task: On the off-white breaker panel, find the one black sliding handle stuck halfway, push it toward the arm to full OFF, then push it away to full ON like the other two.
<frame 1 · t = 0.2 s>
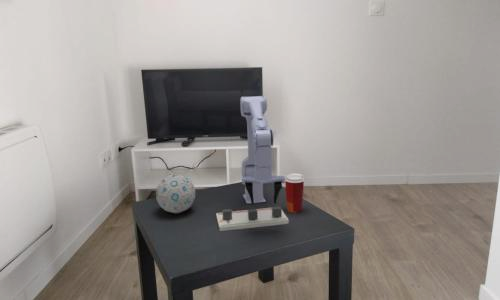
hand: (263, 202, 129), 10 cm above the table, tool pointing down, fingers open, 7 cm apart
puzzle ball: (177, 211, 149), on the table
breaker 3: (276, 211, 138), point 3 cm above the table, slide at 2.3 cm
breaker 1: (227, 214, 137), point 3 cm above the table, slide at 0.0 cm
breaker 2: (252, 214, 136), point 3 cm above the table, slide at 2.3 cm
paper cup: (294, 210, 147), on the table
breaker panel: (251, 220, 139), on the table
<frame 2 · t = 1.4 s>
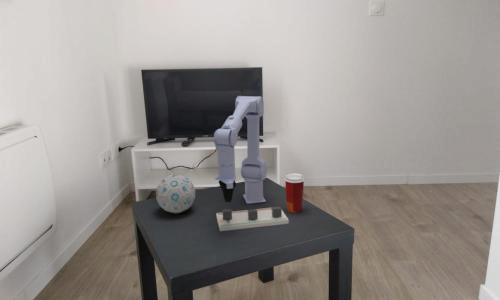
hand: (228, 201, 131), 10 cm above the table, tool pointing down, fingers closed
nothing on the table moved.
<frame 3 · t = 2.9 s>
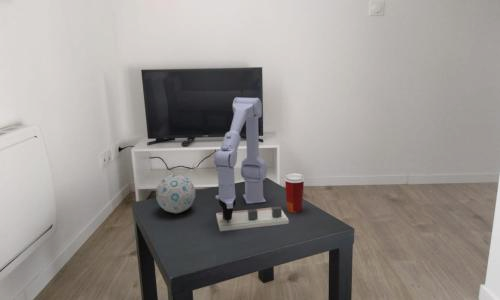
hand: (228, 219, 135), 2 cm above the table, tool pointing down, fingers closed
breaker 1: (227, 213, 137), point 3 cm above the table, slide at -0.4 cm, touching gripper
everything else where it was.
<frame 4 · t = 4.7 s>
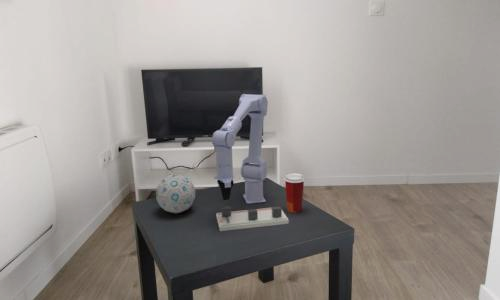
hand: (226, 199, 137), 9 cm above the table, tool pointing down, fingers closed
breaker 1: (226, 211, 139), point 3 cm above the table, slide at -2.6 cm
everything else where it was.
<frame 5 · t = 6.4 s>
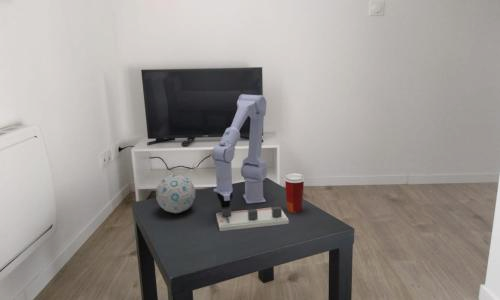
hand: (225, 211, 142), 2 cm above the table, tool pointing down, fingers closed
breaker 1: (226, 211, 139), point 3 cm above the table, slide at -2.4 cm, touching gripper
everything else where it was.
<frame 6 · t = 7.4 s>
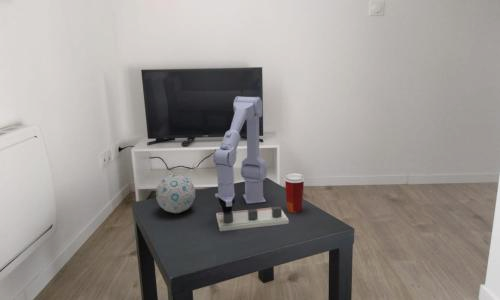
hand: (227, 217, 137), 2 cm above the table, tool pointing down, fingers closed
breaker 1: (228, 217, 134), point 3 cm above the table, slide at 2.6 cm, touching gripper
everything else where it was.
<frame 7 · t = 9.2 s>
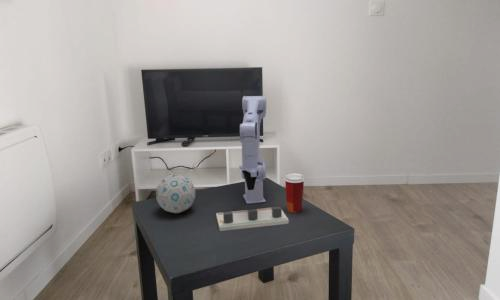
hand: (250, 189, 141), 10 cm above the table, tool pointing down, fingers closed
breaker 1: (228, 217, 135), point 3 cm above the table, slide at 2.6 cm
everything else where it was.
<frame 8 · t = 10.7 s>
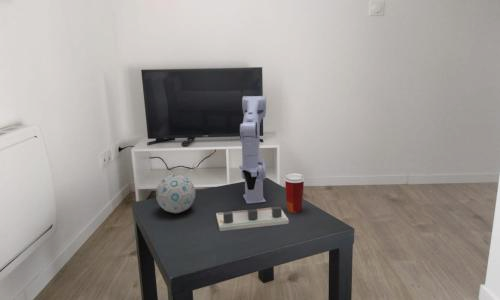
hand: (250, 189, 141), 10 cm above the table, tool pointing down, fingers closed
nothing on the table moved.
at the end: breaker 1 slide at 2.6 cm; breaker 2 slide at 2.3 cm; breaker 3 slide at 2.3 cm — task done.
